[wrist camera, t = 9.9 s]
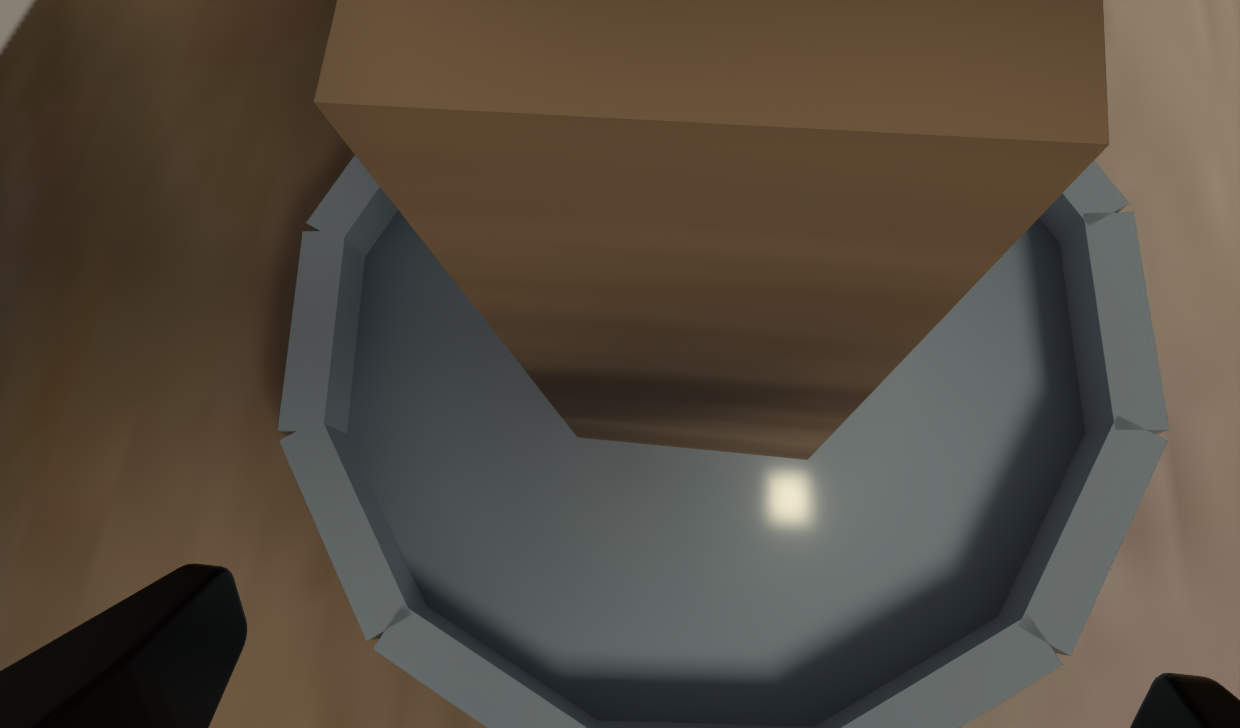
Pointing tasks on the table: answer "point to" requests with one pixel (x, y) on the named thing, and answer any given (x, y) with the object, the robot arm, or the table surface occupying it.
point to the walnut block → (717, 185)
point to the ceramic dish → (725, 498)
